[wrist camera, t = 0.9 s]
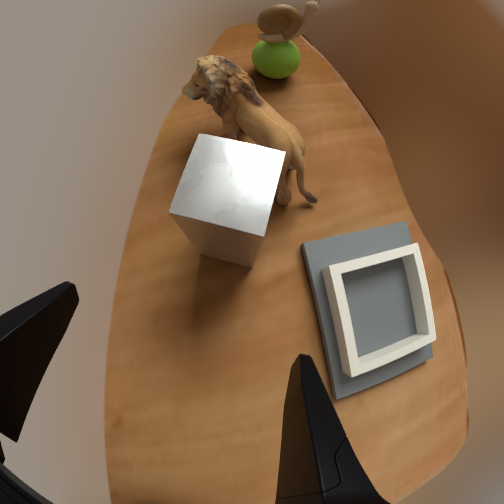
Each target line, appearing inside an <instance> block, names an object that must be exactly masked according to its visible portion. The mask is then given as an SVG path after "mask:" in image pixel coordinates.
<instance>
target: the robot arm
mask: <svg viewBox="0 0 504 504" xmlns="http://www.w3.org/2000/svg"><path fill="white" fill-rule="evenodd" d="M78 302H79V296H78V293H77V290H76V287H75V285H74V284H73V283H70V282H68V281H66V282H63V283H61V284H59V285H57V286H56V287H53V288H51V289H49V290H48V291H45V292H43V293H42V294H40V295H38V296H36V297H34V298H32V299H30V300H28V301H26V302H24V303H22V304H21V305H19V306H17V307H15V308H13V309H11V310H9V311H8V312H6V313H4V314H2V315H1V316H0V433H2V434H3V435H5V436H6V437H8V438H10V439H11V440H13V441H15V442H17V441H18V439H19V436H20V432H21V430H22V427H23V424H24V421H25V419H26V416H27V413H28V411H29V408H30V406H31V403H32V401H33V398H34V396H35V393H36V391H37V389H38V386H39V384H40V382H41V380H42V378H43V376H44V373H45V371H46V369H47V367H48V365H49V363H50V361H51V359H52V357H53V355H54V353H55V351H56V349H57V347H58V345H59V343H60V342H61V340H62V338H63V336H64V334H65V332H66V330H67V328H68V325H69V323H70V321H71V318H72V316H73V314H74V312H75V310H76V307H77V305H78ZM4 460H5V457H4V453H3V450H2V446H1V442H0V504H53V503H52V502H50V501H49V500H47V499H46V498H44V497H43V496H41V495H40V494H39V493H37V492H36V491H35V490H33V489H32V488H30V487H29V486H28V485H27V484H25V483H24V482H23V481H22V480H20V479H19V478H18V477H17V476H16V475H14V474H13V473H12V472H11V471H9V470H8V469H7V468H6V467H5V466H4V465H3V463H4ZM275 504H390V503H389V502H387V501H386V500H385V499H383V498H382V497H381V496H380V495H379V494H378V492H377V491H376V489H375V488H374V486H373V485H372V483H371V481H370V480H369V478H368V476H367V475H366V473H365V471H364V470H363V468H362V466H361V464H360V463H359V461H358V459H357V457H356V455H355V453H354V451H353V449H352V447H351V445H350V442H349V440H348V438H347V437H346V433H345V431H344V429H343V427H342V424H341V422H340V420H339V418H338V415H337V413H336V411H335V409H334V406H333V404H332V402H331V400H330V397H329V395H328V393H327V391H326V388H325V386H324V384H323V382H322V379H321V377H320V375H319V373H318V370H317V368H316V366H315V364H314V362H313V359H312V357H311V356H310V355H305V354H299V355H298V357H297V358H296V360H295V362H294V363H293V365H292V367H291V371H290V376H289V382H288V387H287V393H286V398H285V404H284V412H283V427H282V440H281V452H280V463H279V474H278V483H277V493H276V501H275Z"/></svg>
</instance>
